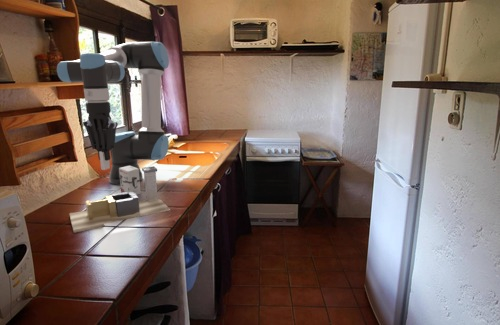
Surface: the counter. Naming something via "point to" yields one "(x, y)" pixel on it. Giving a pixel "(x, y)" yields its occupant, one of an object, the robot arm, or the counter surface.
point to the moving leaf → (101, 207)
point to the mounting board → (83, 223)
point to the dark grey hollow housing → (126, 203)
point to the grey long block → (150, 183)
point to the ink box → (129, 179)
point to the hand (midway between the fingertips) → (105, 168)
